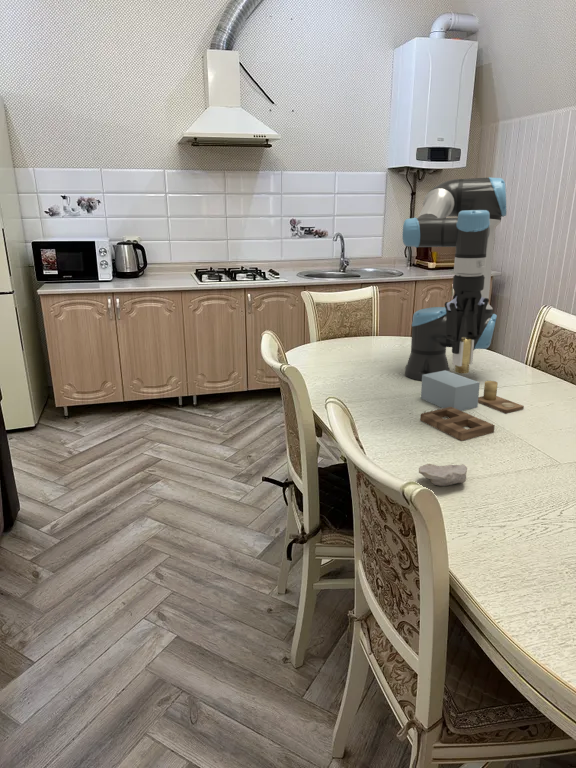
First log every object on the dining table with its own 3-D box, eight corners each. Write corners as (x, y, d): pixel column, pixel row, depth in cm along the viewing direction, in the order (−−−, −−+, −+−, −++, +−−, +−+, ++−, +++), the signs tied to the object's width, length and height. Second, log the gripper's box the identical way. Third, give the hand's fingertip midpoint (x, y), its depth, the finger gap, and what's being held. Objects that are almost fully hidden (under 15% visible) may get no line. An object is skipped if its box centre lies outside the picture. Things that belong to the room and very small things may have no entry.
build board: (420, 420, 153) (420, 413, 152) (450, 413, 157) (451, 406, 157) (461, 440, 139) (462, 433, 138) (493, 432, 144) (494, 425, 143)
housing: (420, 398, 170) (422, 374, 167) (443, 393, 174) (445, 370, 171) (453, 412, 158) (455, 387, 155) (477, 407, 161) (479, 382, 159)
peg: (451, 371, 148) (453, 338, 145) (461, 368, 149) (463, 336, 146) (461, 374, 145) (464, 340, 142) (471, 371, 146) (474, 338, 143)
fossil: (410, 465, 121) (449, 443, 122) (421, 489, 122) (459, 467, 124) (429, 480, 112) (471, 456, 113) (440, 505, 114) (481, 482, 115)
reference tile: (474, 401, 166) (476, 382, 164) (491, 397, 169) (493, 378, 167) (505, 413, 156) (508, 393, 154) (523, 409, 159) (525, 389, 157)
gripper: (456, 278, 132) (449, 372, 139) (503, 273, 139) (495, 362, 147) (434, 275, 138) (429, 365, 146) (480, 270, 146) (473, 356, 153)
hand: (462, 363), depth 146 cm, fingers closed on peg, 3 cm apart
